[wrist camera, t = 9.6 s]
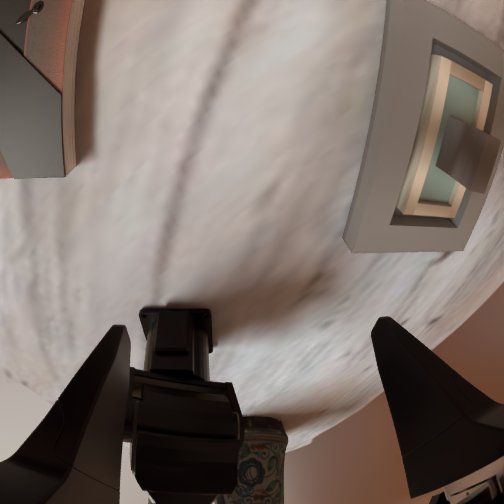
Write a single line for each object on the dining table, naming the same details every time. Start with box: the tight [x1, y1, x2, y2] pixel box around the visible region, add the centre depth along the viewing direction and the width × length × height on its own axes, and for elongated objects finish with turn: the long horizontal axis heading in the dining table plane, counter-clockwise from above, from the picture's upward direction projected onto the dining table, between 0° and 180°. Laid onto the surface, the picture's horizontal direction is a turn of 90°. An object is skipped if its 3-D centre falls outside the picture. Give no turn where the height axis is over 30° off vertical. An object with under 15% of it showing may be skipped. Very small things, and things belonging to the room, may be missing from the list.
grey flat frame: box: [342, 0, 504, 253], centre depth 17 cm, size 19×13×2 cm
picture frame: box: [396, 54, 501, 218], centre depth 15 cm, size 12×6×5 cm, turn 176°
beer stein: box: [214, 416, 288, 504], centre depth 37 cm, size 16×19×25 cm
